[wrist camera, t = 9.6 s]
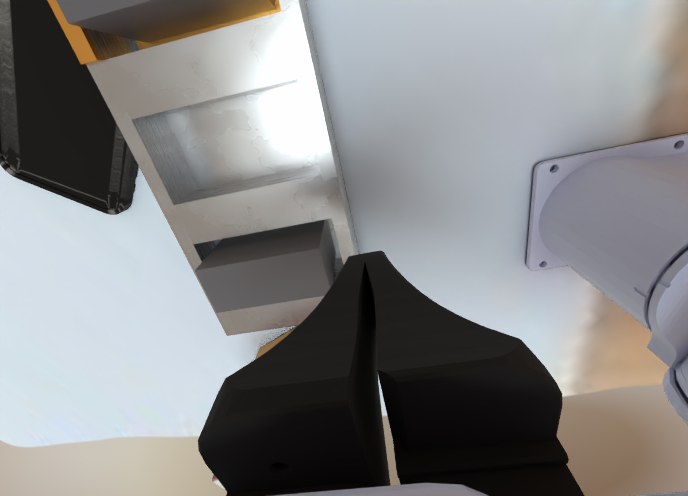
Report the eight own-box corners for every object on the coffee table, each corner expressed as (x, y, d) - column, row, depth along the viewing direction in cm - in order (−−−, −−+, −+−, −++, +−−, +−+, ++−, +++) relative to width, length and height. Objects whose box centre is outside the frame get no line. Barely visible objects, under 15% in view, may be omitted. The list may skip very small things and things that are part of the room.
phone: (-3, 170, 19) (-27, -150, 13) (14, 166, 20) (0, -132, 14) (124, 220, 21) (161, -44, 14) (134, 214, 22) (174, -35, 15)
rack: (266, -184, 13) (232, -297, 9) (365, 282, 23) (368, 317, 20) (57, -110, 14) (-49, -183, 10) (243, 302, 24) (225, 338, 21)
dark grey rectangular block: (326, 213, 20) (319, 248, 15) (335, 252, 21) (331, 294, 17) (227, 232, 21) (194, 270, 16) (243, 268, 22) (216, 313, 18)
